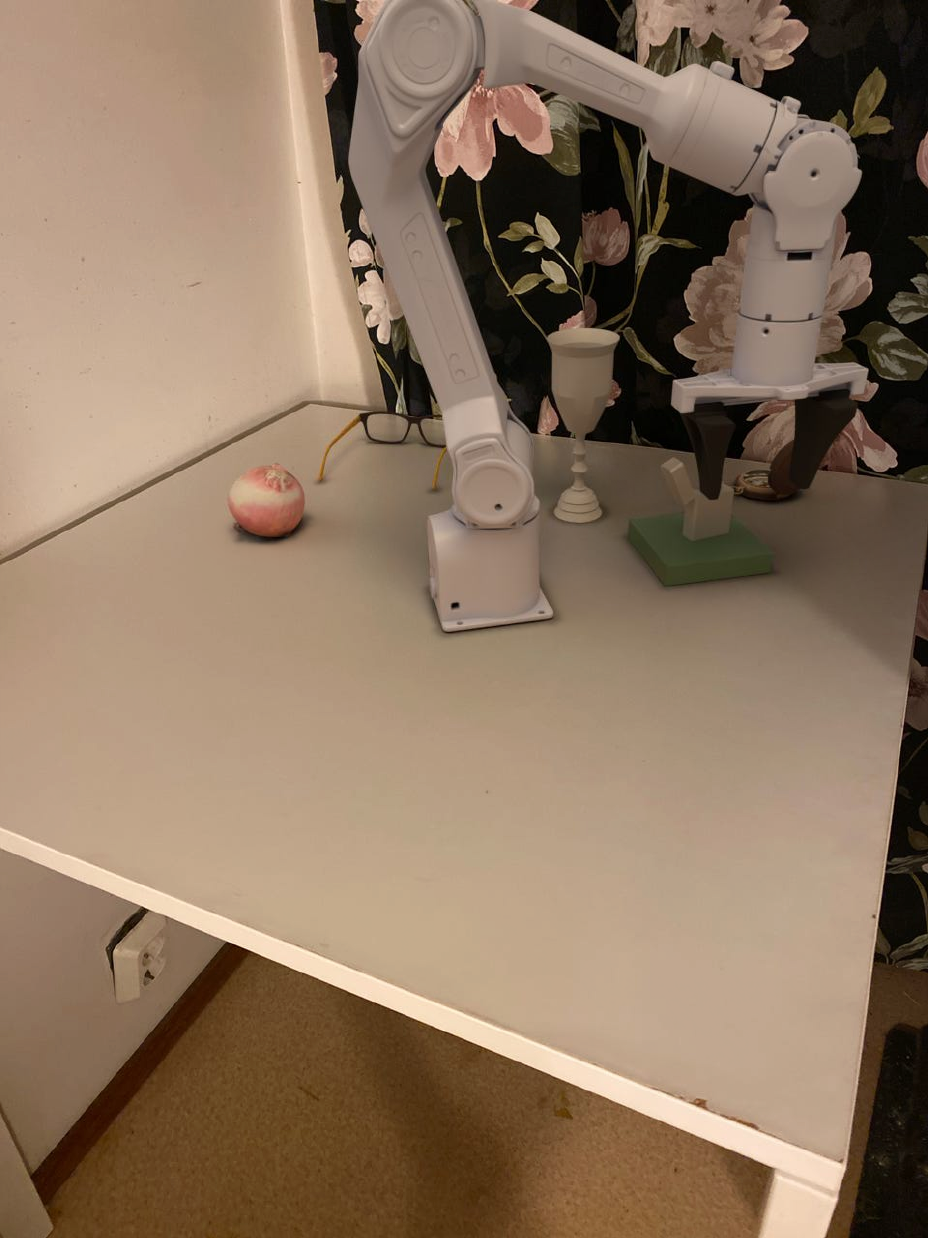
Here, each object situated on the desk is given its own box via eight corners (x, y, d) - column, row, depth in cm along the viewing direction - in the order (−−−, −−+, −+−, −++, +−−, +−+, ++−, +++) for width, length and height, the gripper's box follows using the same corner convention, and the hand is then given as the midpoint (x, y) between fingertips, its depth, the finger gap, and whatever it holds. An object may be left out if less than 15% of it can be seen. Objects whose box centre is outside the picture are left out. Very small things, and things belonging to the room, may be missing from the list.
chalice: (614, 526, 88) (624, 346, 78) (547, 528, 88) (549, 349, 78) (606, 496, 94) (614, 326, 84) (543, 498, 94) (544, 329, 85)
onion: (282, 553, 86) (270, 486, 82) (217, 543, 88) (202, 477, 85) (322, 519, 92) (312, 455, 88) (260, 511, 95) (248, 448, 91)
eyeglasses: (470, 446, 109) (469, 415, 107) (434, 491, 97) (432, 458, 95) (365, 439, 112) (362, 409, 110) (318, 482, 101) (313, 449, 99)
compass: (765, 474, 97) (774, 411, 93) (816, 500, 91) (829, 433, 87) (707, 489, 94) (714, 424, 91) (756, 516, 88) (766, 448, 84)
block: (665, 586, 77) (667, 566, 76) (627, 537, 85) (628, 519, 84) (770, 572, 78) (773, 553, 77) (723, 526, 87) (725, 507, 86)
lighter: (718, 525, 82) (728, 445, 78) (729, 532, 81) (740, 451, 77) (654, 540, 80) (660, 458, 76) (664, 547, 79) (671, 465, 75)
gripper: (706, 335, 57) (687, 521, 65) (907, 316, 59) (867, 499, 66) (667, 312, 63) (653, 484, 70) (850, 295, 65) (819, 465, 72)
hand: (754, 489), depth 69 cm, fingers open, 7 cm apart
